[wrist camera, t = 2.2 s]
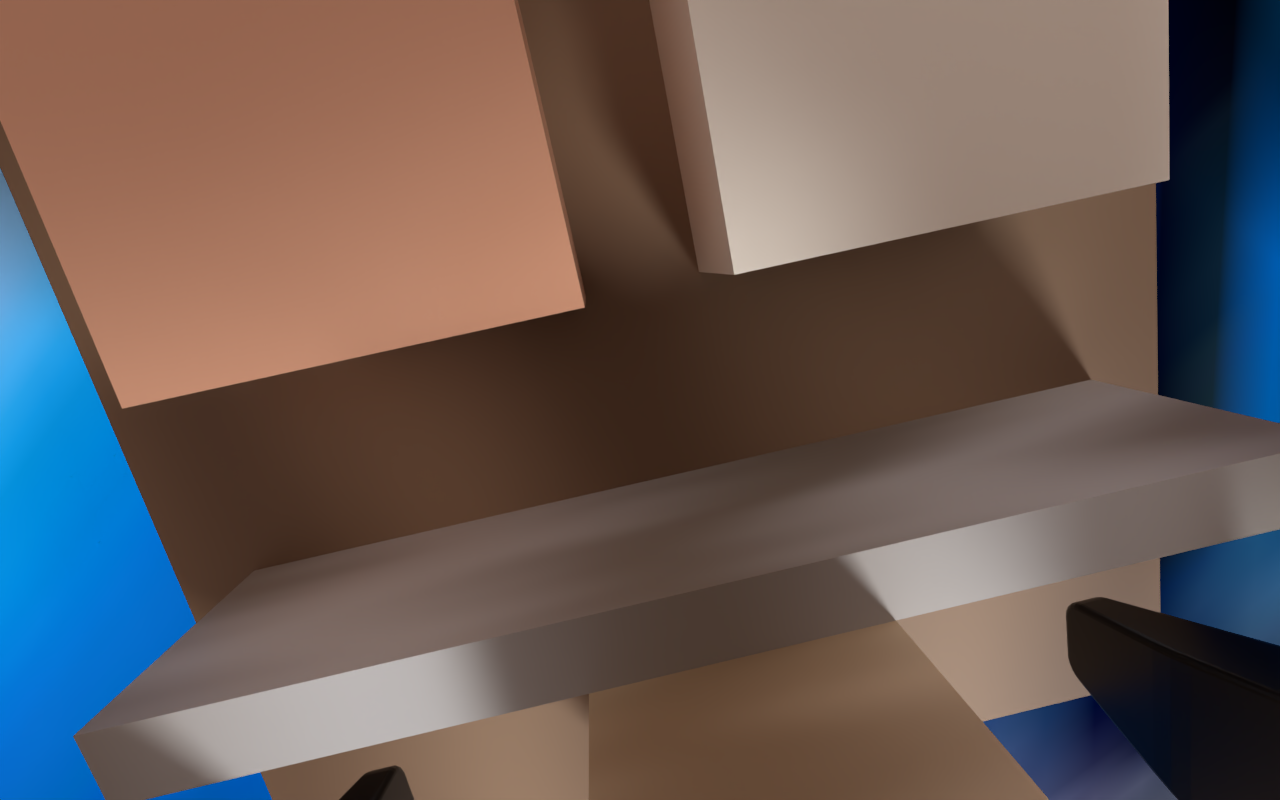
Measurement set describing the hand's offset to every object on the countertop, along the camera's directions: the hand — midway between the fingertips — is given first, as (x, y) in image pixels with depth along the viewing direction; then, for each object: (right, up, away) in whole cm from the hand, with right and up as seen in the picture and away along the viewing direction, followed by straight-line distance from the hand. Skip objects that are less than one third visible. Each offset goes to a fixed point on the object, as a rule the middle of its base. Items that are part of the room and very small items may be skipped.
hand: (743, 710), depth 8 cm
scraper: (0, 0, +1) cm, 1 cm away
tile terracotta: (-5, +7, -1) cm, 8 cm away
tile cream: (+1, +8, 0) cm, 8 cm away
